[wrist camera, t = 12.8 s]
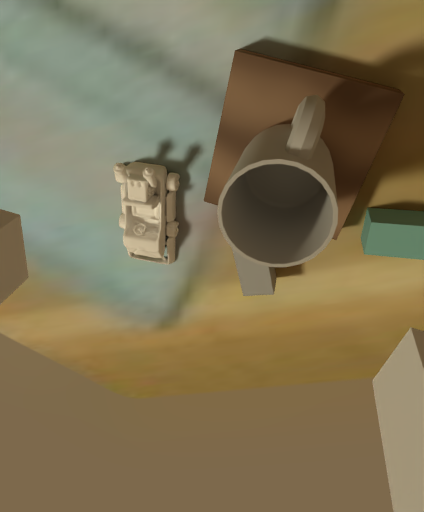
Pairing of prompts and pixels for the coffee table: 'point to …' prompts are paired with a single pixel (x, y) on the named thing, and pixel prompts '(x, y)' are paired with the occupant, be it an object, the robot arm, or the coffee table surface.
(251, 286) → the grey brick
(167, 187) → the toy car
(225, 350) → the coffee table surface
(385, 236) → the teal brick
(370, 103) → the walnut block
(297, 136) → the cup
